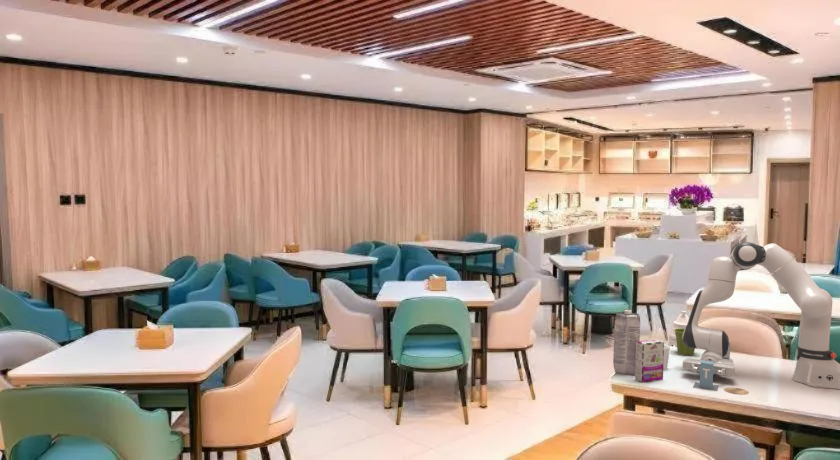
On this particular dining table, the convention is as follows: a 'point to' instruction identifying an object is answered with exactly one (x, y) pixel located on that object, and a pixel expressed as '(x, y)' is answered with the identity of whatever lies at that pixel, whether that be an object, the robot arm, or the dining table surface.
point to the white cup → (666, 357)
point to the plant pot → (680, 345)
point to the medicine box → (728, 351)
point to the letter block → (706, 374)
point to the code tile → (714, 388)
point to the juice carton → (626, 342)
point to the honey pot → (678, 327)
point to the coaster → (736, 391)
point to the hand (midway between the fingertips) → (707, 371)
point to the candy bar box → (649, 360)
